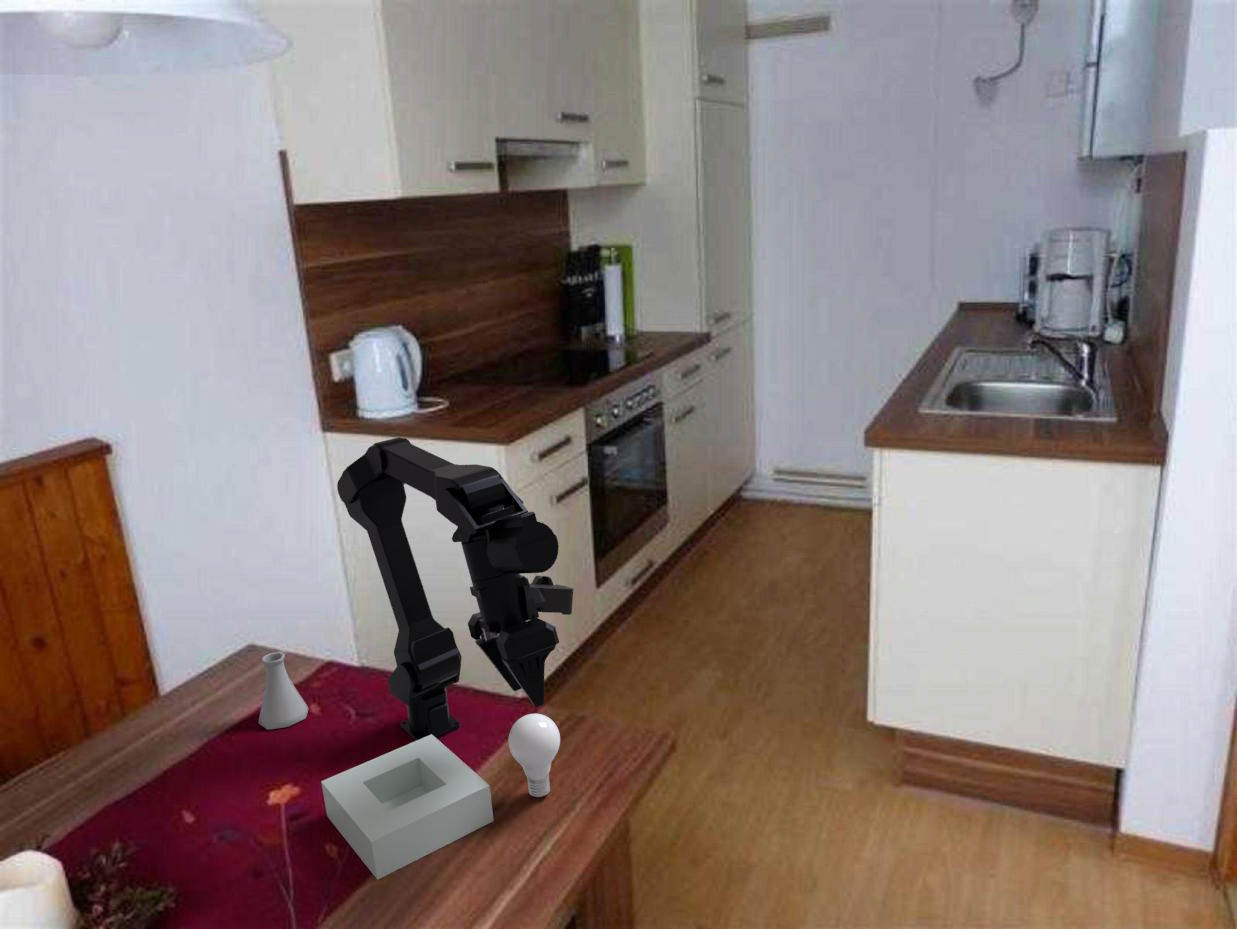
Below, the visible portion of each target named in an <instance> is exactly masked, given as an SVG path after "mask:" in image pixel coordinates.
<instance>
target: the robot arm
mask: <svg viewBox="0 0 1237 929" xmlns="http://www.w3.org/2000/svg"><path fill="white" fill-rule="evenodd" d="M405 485H407V486H409V487H411V488H413V489H415V490H417V491H419V492H421V493H423V494H425V495H426V496H428V497H430V498H432V500H434V501H435V505H436V511H437V512H438V514H440V515H442V516H443V517H444V518H445V519H447V520H448V521H449V522H450V523H452V524H453V525H455V526H456V527H457V528H456V529H455V531H454V532H453V534H452V537H451V541H452V542H453V543H460V544H461V547H462V551H463V554H464V559H465V562H466V565H467V569H468V573H469V577H470V580H471V584H472V586H469V589H470V593H471V596H473V597H475V599H476V602H477V606H478V610H479V612H476V613H473V614H472V615H471V617H470V618H469V620H468V621H467V626H468V630H469V633H470V636H471V638H472V639H474V641H475V644H476V646H478V648H479V649H480V650H481V651H482V652H483V654H484V655H485V656H486V657H487V659H488V660H489V662H490V663H491V664H492V665H493V667H494V668H495V669H496V671H498V673H499V675H501V677H502V678H503V679H504V681H505V682H506V684H508V686H509V687H510V689H511V690H512V691H513V692H516V691H520V690H521V689H522V690H523V692H524V694H525V695H526V696H527V698H528V700H529V701H530V702H531V703H532V705H533V706H534V707H535V708H539V707H541V706H544V704H545V669H546V666H545V665H546V660H547V658H548V656H549V655H550V654H551V652H553V651H554V650H555V649H556V647H557V644H560V641H559V636H558V632H557V629H556V628H557V627H556V626H554V625H552V624H551V623H549V622H547V621H545V620H543V619H541V618H540V614H539V613H555V614H556V613H558V614H562V615H565V616H567V615H568V616H570V615H572V613H573V600H574V588H573V587H569V586H566V585H561V584H554V582H553V580H552V577H550V576H547V575H535V577H534V578H533V580H532V581H531V583H530V582H529V578H528V577H525V576H524V575H522V574H540V573H542V574H543V573H545V572H548V570H550V569H551V568H552V567H553V566H554V565H555V562H556V561H557V558H558V555H559V546H560V545H559V539H558V537H557V535H556V534H555V533H554V530H553V529H551V527H550V526H549V525H547V524H546V523H544V522H542V521H537V520H538V519H537V516H536V512H534V511H529V510H528V509H527V508H526V507H525V505H524V500H522V499H521V498H520V497H519V496H518V495H517V494H516V493H515V492H514V490H513V489H512V488H511V486H510V485H509V483H508V482H507V481H506V480H505V479H504V478H503V477H502V475H501V473H500V472H499V471H498V470H496V469H495V468H494V467H492V466H486V465H481V464H475V463H474V464H457V463H456V464H455V463H453V462H451V461H448V460H446V459H444V458H442V457H439V456H438V455H436V454H434V453H431V452H429V451H427V450H425V449H424V448H420V447H418V446H416V445H414V444H413V443H411V442H410V440H409V439H407V437H400V436H399V437H398V436H397V437H394V438H390V439H386V440H382V441H379V442H375V443H373V444H372V445H371V446H369V447H368V449H367V450H366V452H365V453H364V454H363V455H362V456H360V457H359V458H358V459H356V460H355V461H353V462H352V463H350V465H348V466H347V467H346V468H345V469H344V470H343V471H342V473H341V475H340V477H339V479H338V481H337V484H336V486H337V487H336V488H337V492H338V493H337V494H338V495H339V498H340V500H341V502H342V503H344V506H345V508H346V511H347V513H348V516H349V517H350V518H352V520H354V522H356V523H357V524H359V526H361V527H362V528H363V529H364V530H365V531H366V533H367V534H368V535H367V536H368V537H369V538H368V539H369V541H370V544H371V547H372V548H371V549H372V550H373V553H374V556H375V559H376V562H377V566H378V570H379V572H380V575H381V578H382V581H383V584H384V587H385V588H384V589H385V590H386V594H387V597H388V601H389V602H390V606H391V608H392V612H393V615H394V618H395V622H396V625H397V628H398V632H397V637H396V641H395V646H394V650H393V655H394V658H395V659H394V660H395V663H396V667H395V669H394V670H393V671H392V673H391V674H390V676H388V679H387V680H386V682H387V686H388V688H389V693H390V695H391V696H393V697H394V698H396V699H398V700H399V701H401V702H402V703H404V704H405V705H406V709H407V717H408V719H406V720H405V719H404V720H403V721H401V722H400V727H401V728H402V729H403V730H404V731H405V732H407V734H409V736H410V737H411V738H413V740H415V741H417V740H419V739H422V738H424V737H426V736H429V735H431V734H432V735H433V736H434V737H435V738H438V737H440V736H442V735H445V734H447V733H449V732H452V731H454V730H455V729H458V728H460V727H461V723H460V722H459V721H458V720H457V719H456V718H455V717H453V716H452V715H451V714H450V709H449V702H448V701H449V700H448V695H447V694H448V693H447V687H449V686H451V685H454V684H457V683H458V682H460V675H461V674H460V673H461V668H462V658H463V657H462V654H461V652H460V650H459V647H458V646H457V642H456V639H455V635H454V632H453V630H452V629H451V628H450V627H449V626H448V627H444V626H442V625H441V624H440V623H439V622H438V621H437V620H435V618H434V617H433V614H432V611H431V608H430V604H429V601H428V597H427V595H426V592H425V589H424V585H423V583H422V580H421V577H420V574H419V570H418V568H417V563H416V560H415V557H414V555H413V552H412V548H411V545H410V542H409V538H408V537H407V536H408V535H407V534H406V530H405V527H404V525H403V524H404V523H403V515H404V511H405V507H406V506H405V505H406V503H407V494H406V489H405Z"/></svg>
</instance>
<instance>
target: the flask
mask: <svg viewBox="0 0 1237 929" xmlns="http://www.w3.org/2000/svg"><path fill="white" fill-rule="evenodd" d="M285 657H286V656H285V653H283V652H281V651H276V652H270V653H268V654H266V655H263V656H262V658H261V663H262V664H263V665H264V669H265V684H264V685H265V686H264V692H263V698H262V704H261V707H260V711H259V717H258V724H259V725H260V726H262V727H263V728H265V729H266V730H267V731H268V730H275V729H281V728H283V729H284V728H288V727H291V726H292V725H295V724H297V723H299V722H301V721H304V720H305V719H307V716H308V712H309V707H308V705H307V704H306V701H305V700H304V699H303V697H302V695H300V693H299V691H298V690H297V688H296V687H295V685H294V684H293V682H292V680H291V679H290V676H289V675H288V672H287V670H286V667H285V663H284V660H285Z"/></svg>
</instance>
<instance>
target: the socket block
mask: <svg viewBox="0 0 1237 929" xmlns="http://www.w3.org/2000/svg"><path fill="white" fill-rule="evenodd" d="M320 782H321V789H322V793H323V799H324V806H325V812H326V817H327V818H328V819H329V820H330V822H331V823H332V824H333V826H334V827H335V828H336V829H337V831H338V832H339V833H340V834H341V836H342V837H343V838H344V839H345V841H346V842H347V844H348V845H349V846H350V847H351V848H352V850H353V851H354V852H355V853H356V854H357V856H358V857H359V859H361V861H362V862H363V864H364V865H365V866H366V867H367V869H368V870H369V871H370V872H371V873H372V875H373V876H374V877H375V879H376V880H378V881H379V880H380V879H382V878H384V877H386V876H388V875H390V874H392V873H394V872H396V871H397V870H399V869H402V868H404V867H406V866H408V865H410V864H412V863H414V862H415V861H417V860H420V859H421V858H423V857H425V856H427V855H430V854H432V853H434V852H435V851H437V850H440V849H441V848H443V847H446V846H448V845H449V844H452V843H453V842H455V841H457V840H459V839H461V838H463V837H465V836H467V835H469V834H472V833H473V832H475V831H477V830H479V829H481V828H483V827H484V826H486V825H488V824H490V823H493V822H494V813H493V812H494V811H493V806H492V805H493V804H492V796H491V786H490V784H489V783H488V782H486V781H485V780H484V779H483V778H482V777H481V776H479V774H477V773H476V772H475V771H474V770H473V769H472V768H471V767H470V766H469V765H467V764H466V763H465V762H464V761H462V760H461V758H460V757H458V756H457V755H456V754H455V753H454V752H453V751H452V750H451V749H449V748H448V747H447V746H446V745H444V744H443V743H442V742H441V741H440V740H439V739H438V737H434V736H433V735H432V734H431V735H429V736H426V737H424V738H422V739H419V740H417V741H416V740H415V741H412V742H409V743H407V744H406V745H403V746H400V747H398V748H396V749H394V750H391V751H390V752H386V753H384V754H382V755H380V756H378V757H377V756H376V757H374V758H373V759H370V760H367V761H366V762H363V763H361V764H359V765H357V766H354V767H351V768H349V769H347V770H345V771H342V772H340V773H337V774H335V775H332V776H331V777H328V778H326V779H324V780H321V781H320Z"/></svg>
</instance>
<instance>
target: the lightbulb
mask: <svg viewBox="0 0 1237 929" xmlns="http://www.w3.org/2000/svg"><path fill="white" fill-rule="evenodd" d="M507 739H508V748H509V751H510V754H511V755H512V756H513V758H514V760H516V762H518V764H519V765H520V766H522V770H523V772H524V774H525V776H526V777H527V788H528V793H529V795H530V796H532V797H535V798H540V797H545V796H547V794H549V793H550V790H551V788H550V786H551V785H550V774H549V773H550V771H551V768H552V762H553V761H554V759H555V758H556V756H557V754H558V751H559V749H560V745H561V735H560V730H559V728H558V725H556V723H555V722H554V721H553V720H552V719H551V718H550V717H548V716H547V715H545V714H542V713H528V714H526V715H523V716H522V717H519V719H517V720H516V721H515V722H514V724H513V725H512V727H511V729H510V732H509V735H508V738H507Z"/></svg>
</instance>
